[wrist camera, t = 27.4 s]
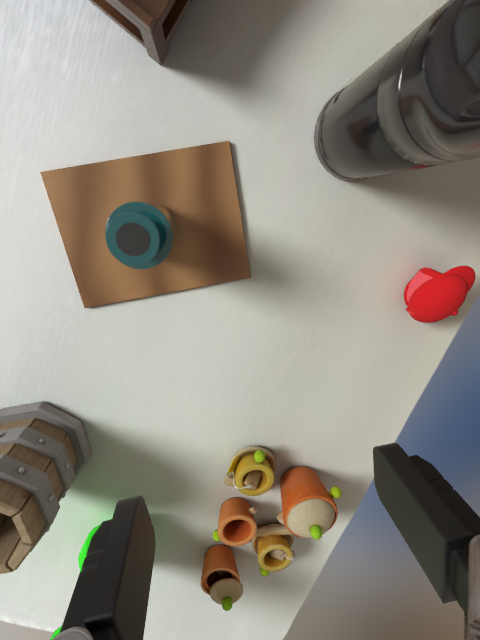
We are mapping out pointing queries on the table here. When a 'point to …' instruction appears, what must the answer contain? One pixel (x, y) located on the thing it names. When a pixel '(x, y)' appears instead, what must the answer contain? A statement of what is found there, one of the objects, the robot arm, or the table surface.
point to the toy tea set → (271, 540)
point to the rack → (146, 21)
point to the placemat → (162, 188)
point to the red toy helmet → (437, 293)
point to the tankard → (35, 474)
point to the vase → (141, 234)
